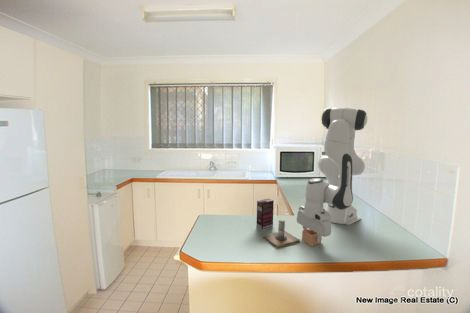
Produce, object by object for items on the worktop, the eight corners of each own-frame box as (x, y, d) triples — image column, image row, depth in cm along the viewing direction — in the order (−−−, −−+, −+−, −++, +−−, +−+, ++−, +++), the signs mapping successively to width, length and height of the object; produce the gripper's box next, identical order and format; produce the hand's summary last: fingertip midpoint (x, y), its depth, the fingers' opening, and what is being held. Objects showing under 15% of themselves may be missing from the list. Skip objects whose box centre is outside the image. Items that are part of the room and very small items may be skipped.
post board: (284, 232, 145) (285, 214, 143) (299, 242, 134) (300, 222, 133) (262, 238, 138) (263, 219, 136) (277, 248, 128) (277, 227, 126)
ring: (311, 237, 140) (312, 228, 139) (321, 242, 134) (321, 233, 133) (301, 240, 137) (302, 230, 136) (311, 245, 131) (312, 235, 130)
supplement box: (267, 224, 155) (268, 198, 152) (273, 227, 151) (274, 200, 149) (255, 228, 150) (256, 200, 147) (261, 231, 146) (262, 203, 144)
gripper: (294, 205, 140) (293, 231, 143) (324, 219, 123) (322, 247, 125) (303, 204, 143) (302, 228, 145) (334, 217, 126) (332, 244, 128)
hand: (311, 237), depth 135 cm, fingers closed on ring, 7 cm apart
